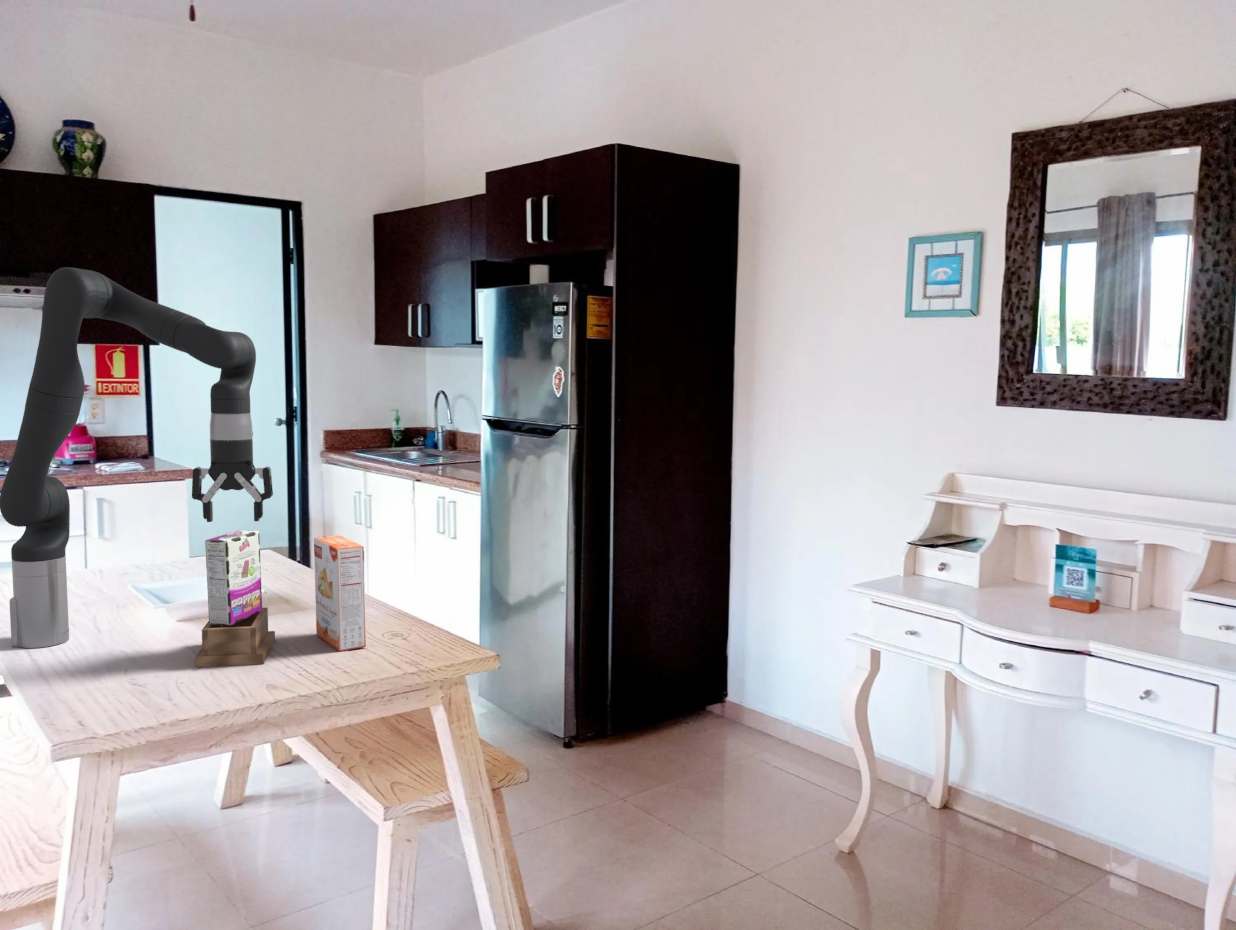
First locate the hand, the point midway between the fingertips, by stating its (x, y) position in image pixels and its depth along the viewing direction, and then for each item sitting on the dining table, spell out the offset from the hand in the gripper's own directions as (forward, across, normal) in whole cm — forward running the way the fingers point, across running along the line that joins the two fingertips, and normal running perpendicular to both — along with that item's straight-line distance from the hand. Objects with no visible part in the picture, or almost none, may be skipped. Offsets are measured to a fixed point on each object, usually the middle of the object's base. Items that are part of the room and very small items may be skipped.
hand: (233, 521), depth 186 cm
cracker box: (+26, +19, +5) cm, 33 cm away
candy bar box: (+19, 0, 0) cm, 19 cm away
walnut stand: (+26, 0, 0) cm, 26 cm away
